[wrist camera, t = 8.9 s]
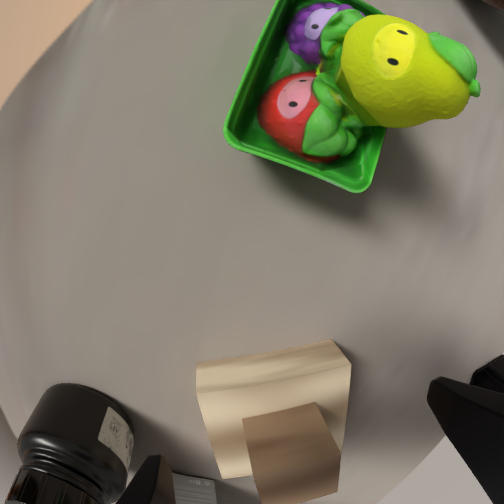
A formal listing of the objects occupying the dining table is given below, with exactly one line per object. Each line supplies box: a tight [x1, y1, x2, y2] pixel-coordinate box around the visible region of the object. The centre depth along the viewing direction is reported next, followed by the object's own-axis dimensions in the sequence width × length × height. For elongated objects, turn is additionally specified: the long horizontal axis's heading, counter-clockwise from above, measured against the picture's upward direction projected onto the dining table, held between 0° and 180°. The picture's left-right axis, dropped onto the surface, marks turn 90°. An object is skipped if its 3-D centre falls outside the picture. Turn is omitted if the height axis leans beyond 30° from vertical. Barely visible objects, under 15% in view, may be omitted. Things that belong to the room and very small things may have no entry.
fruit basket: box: [223, 0, 481, 193], centre depth 12 cm, size 11×9×11 cm
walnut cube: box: [242, 402, 341, 504], centre depth 17 cm, size 5×5×5 cm
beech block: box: [196, 339, 351, 479], centre depth 21 cm, size 10×10×4 cm
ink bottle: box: [5, 383, 134, 504], centre depth 15 cm, size 10×9×12 cm
